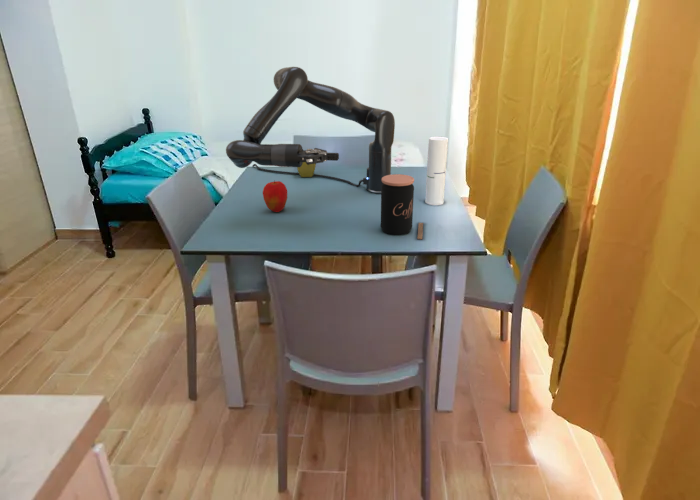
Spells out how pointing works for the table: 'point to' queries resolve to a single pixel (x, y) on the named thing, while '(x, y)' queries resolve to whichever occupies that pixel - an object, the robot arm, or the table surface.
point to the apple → (275, 195)
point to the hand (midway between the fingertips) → (338, 156)
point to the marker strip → (420, 231)
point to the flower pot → (306, 170)
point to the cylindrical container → (436, 170)
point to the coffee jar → (397, 204)
